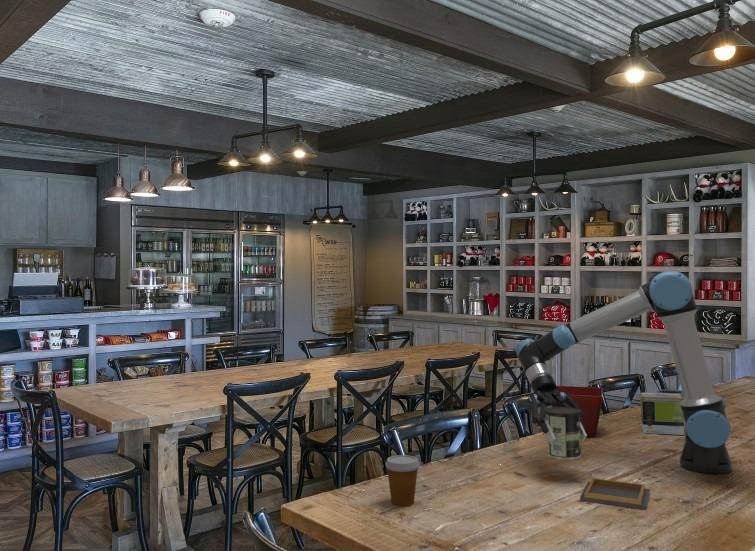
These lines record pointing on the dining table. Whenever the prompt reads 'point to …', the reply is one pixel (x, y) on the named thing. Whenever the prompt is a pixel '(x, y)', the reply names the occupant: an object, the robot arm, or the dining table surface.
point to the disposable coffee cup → (402, 478)
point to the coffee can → (564, 433)
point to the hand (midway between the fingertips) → (568, 439)
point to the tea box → (662, 413)
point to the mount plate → (616, 493)
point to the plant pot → (586, 405)
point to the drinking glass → (671, 392)
